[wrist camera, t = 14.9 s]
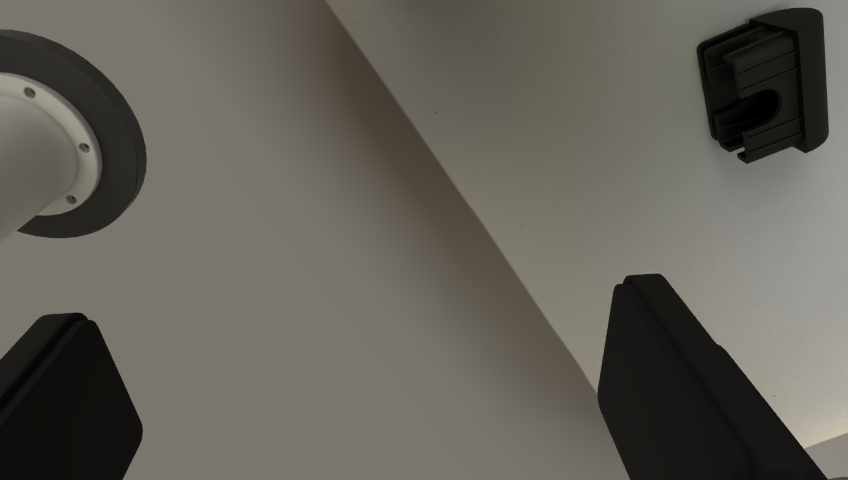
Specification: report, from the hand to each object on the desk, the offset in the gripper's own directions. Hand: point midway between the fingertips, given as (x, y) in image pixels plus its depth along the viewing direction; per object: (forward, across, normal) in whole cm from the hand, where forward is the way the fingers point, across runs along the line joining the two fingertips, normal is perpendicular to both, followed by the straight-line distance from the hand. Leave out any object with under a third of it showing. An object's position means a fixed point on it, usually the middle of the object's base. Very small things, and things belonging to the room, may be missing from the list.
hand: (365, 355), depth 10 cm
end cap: (+38, -30, +6) cm, 49 cm away
